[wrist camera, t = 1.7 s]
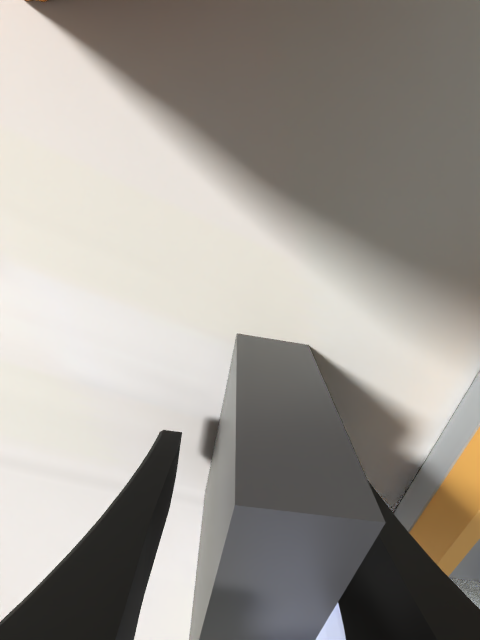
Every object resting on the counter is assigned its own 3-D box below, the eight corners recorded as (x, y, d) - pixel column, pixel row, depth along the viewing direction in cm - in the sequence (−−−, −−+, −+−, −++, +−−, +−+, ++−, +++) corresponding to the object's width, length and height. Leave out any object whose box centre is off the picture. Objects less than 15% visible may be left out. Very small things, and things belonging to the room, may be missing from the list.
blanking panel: (260, 497, 14) (274, 707, 8) (205, 490, 13) (182, 701, 8) (308, 344, 10) (385, 522, 5) (236, 332, 10) (234, 505, 5)
